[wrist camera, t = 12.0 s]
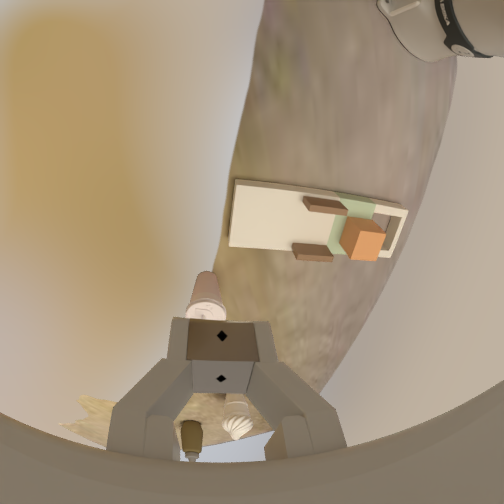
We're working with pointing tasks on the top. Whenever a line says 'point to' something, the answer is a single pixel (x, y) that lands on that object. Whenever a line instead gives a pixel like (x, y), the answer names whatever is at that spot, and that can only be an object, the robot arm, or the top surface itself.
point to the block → (362, 239)
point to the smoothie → (206, 299)
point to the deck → (303, 219)
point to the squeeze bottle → (191, 439)
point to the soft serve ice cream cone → (236, 415)
